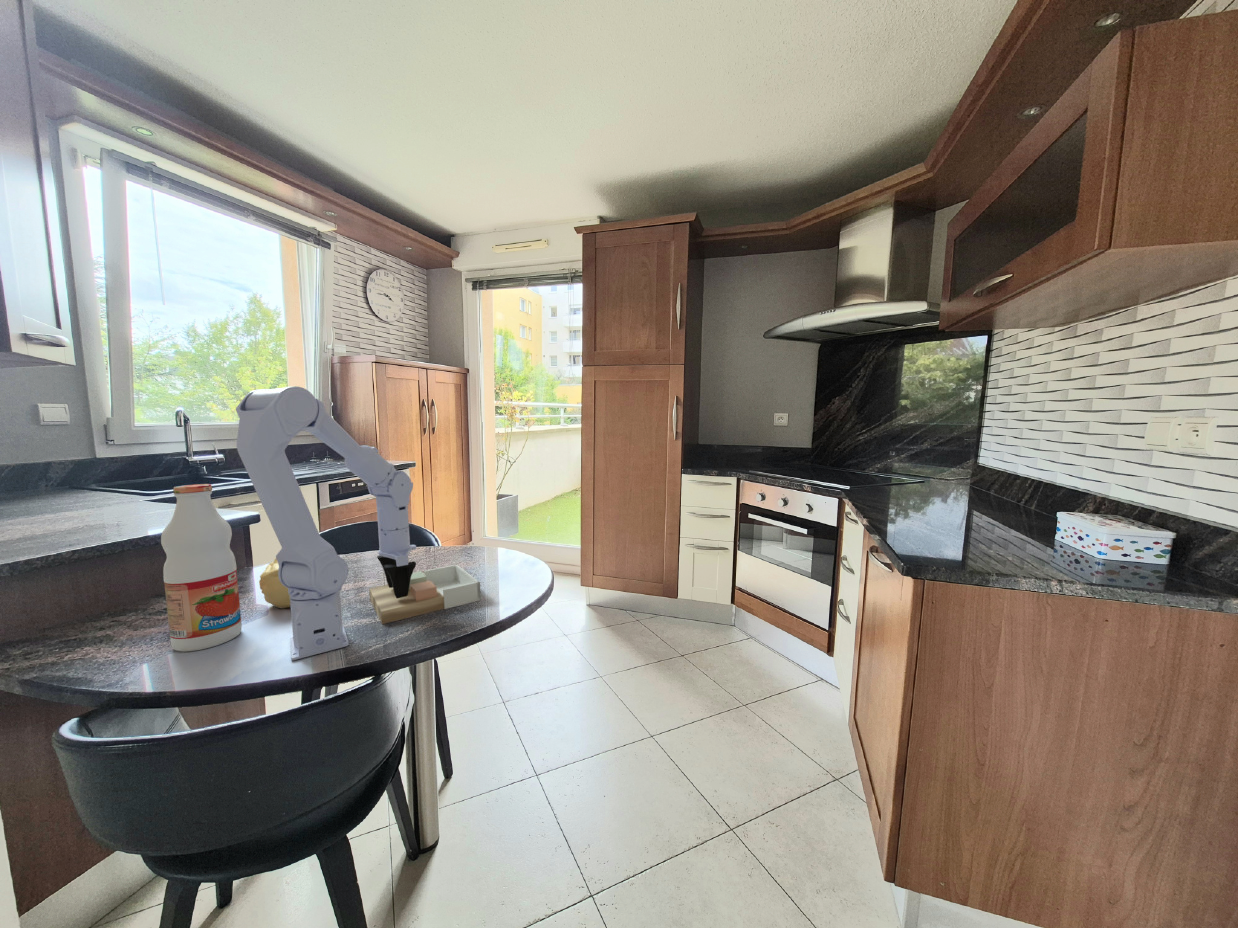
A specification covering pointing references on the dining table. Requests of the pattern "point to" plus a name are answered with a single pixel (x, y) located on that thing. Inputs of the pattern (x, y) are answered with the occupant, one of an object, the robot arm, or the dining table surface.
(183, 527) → the fruit juice
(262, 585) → the sculpture
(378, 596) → the board
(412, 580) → the tile
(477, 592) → the tray
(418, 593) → the tile
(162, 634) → the dining table surface
